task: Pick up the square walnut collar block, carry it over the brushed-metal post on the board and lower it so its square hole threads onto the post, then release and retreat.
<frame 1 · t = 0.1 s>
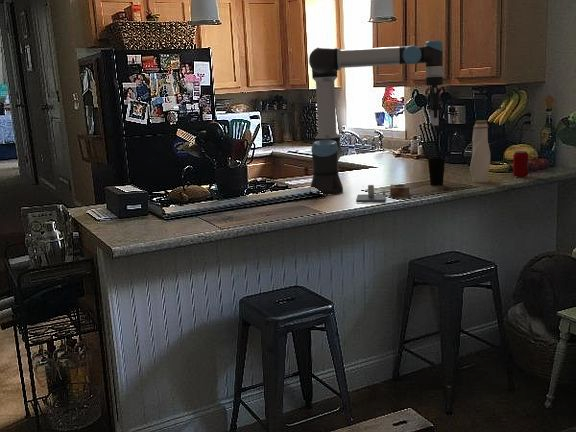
hand: (434, 124, 290), 28 cm above the countertop, fingers open, 13 cm apart
water bottle: (479, 181, 299), on the countertop
post base: (371, 199, 270), on the countertop
beverage can: (520, 177, 304), on the countertop
collar: (399, 195, 276), on the countertop
cup: (436, 185, 296), on the countertop
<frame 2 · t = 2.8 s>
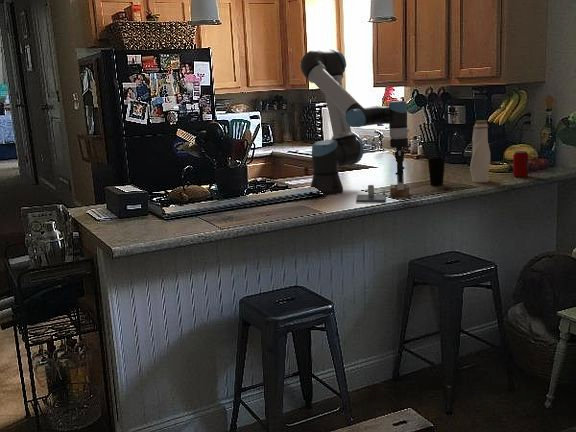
hand: (400, 187, 275), 4 cm above the countertop, fingers open, 13 cm apart
nothing on the countertop moved.
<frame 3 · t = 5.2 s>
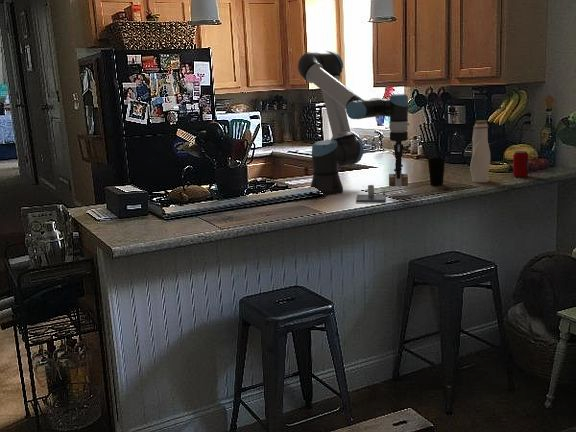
hand: (398, 183, 276), 5 cm above the countertop, fingers closed on collar, 8 cm apart
collar: (398, 184, 276), point 5 cm above the countertop, touching gripper
everything else where it was.
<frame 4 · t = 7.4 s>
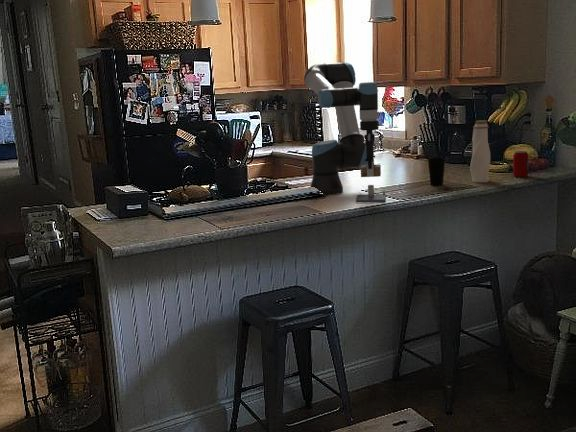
hand: (370, 174, 267), 11 cm above the countertop, fingers closed on collar, 8 cm apart
collar: (371, 175, 267), point 10 cm above the countertop, touching gripper
everything else where it was.
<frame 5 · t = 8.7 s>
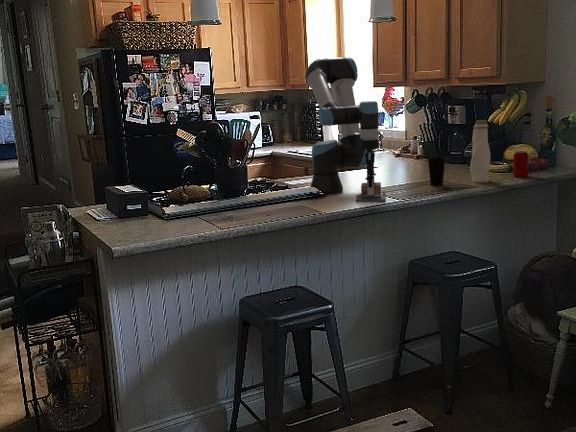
hand: (371, 192, 269), 3 cm above the countertop, fingers closed on collar, 8 cm apart
collar: (371, 193, 269), point 3 cm above the countertop, touching gripper
everything else where it was.
when the fingers open (2 cm above the countertop, at t = 9.7 s): collar stays where it is, resting on post base.
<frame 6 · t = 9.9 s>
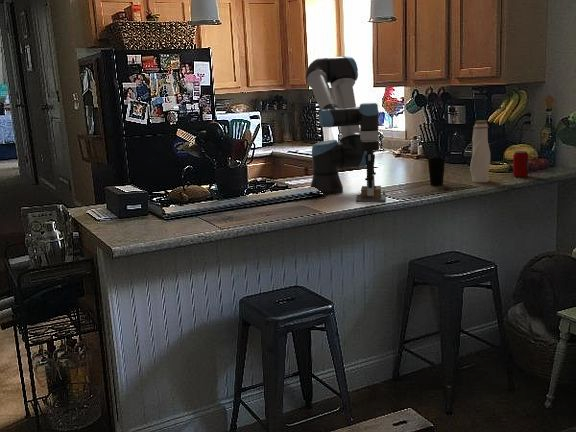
hand: (371, 192, 269), 3 cm above the countertop, fingers open, 11 cm apart
collar: (371, 196, 270), point 1 cm above the countertop, touching post base
everything else where it was.
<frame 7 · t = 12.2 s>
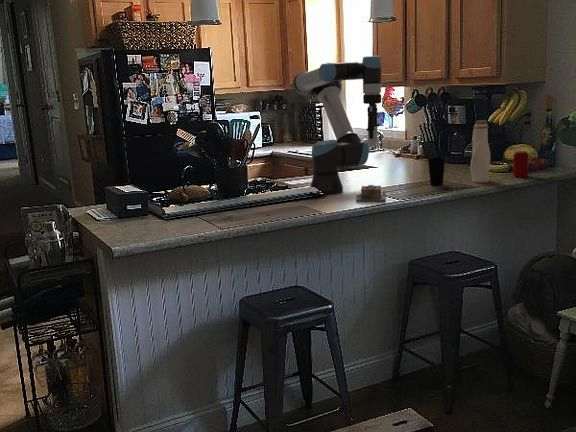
hand: (373, 144, 273), 23 cm above the countertop, fingers open, 13 cm apart
nothing on the countertop moved.
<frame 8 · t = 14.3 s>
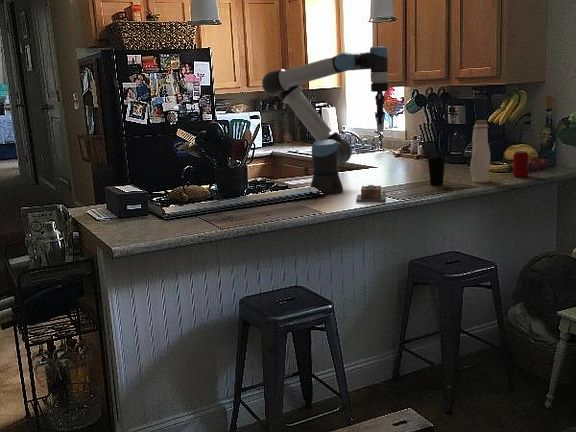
hand: (380, 130, 287), 27 cm above the countertop, fingers open, 13 cm apart
nothing on the countertop moved.
at the end: collar 0.1 cm from the post base (horizontally); collar point 1.2 cm above the countertop; the gripper is holding nothing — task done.
